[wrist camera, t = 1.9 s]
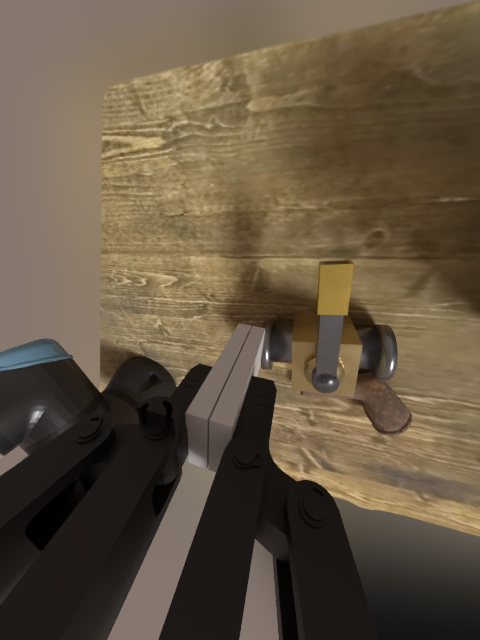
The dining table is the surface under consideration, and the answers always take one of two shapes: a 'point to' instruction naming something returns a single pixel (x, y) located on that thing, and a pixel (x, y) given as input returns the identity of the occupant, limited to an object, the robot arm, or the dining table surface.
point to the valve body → (355, 351)
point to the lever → (331, 320)
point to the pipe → (377, 404)
